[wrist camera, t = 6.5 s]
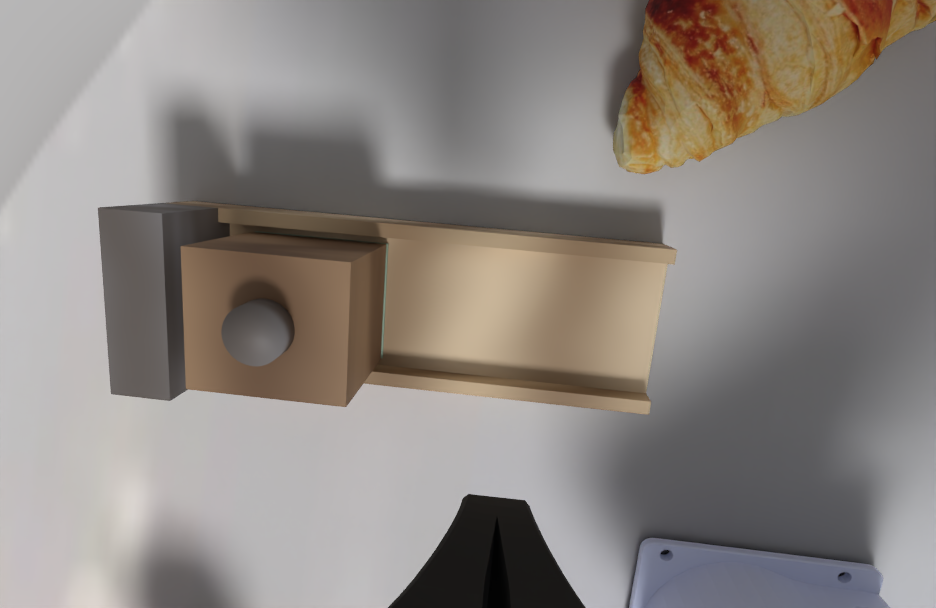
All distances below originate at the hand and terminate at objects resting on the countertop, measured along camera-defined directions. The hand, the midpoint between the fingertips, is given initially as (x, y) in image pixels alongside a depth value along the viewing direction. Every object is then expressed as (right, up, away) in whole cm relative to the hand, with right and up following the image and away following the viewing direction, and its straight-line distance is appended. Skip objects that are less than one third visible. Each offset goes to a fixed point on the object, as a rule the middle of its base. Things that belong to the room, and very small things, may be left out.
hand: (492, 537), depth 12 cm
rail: (-3, +5, +10) cm, 11 cm away
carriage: (-6, +5, +9) cm, 12 cm away
